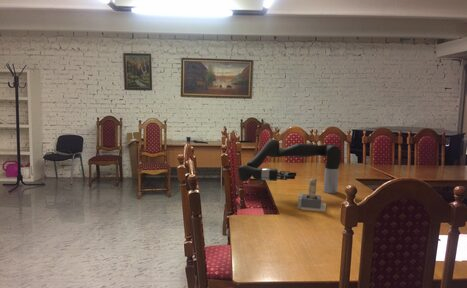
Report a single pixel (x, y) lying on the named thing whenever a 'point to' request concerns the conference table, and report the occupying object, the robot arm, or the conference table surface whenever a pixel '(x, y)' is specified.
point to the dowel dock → (311, 203)
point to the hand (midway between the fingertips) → (295, 175)
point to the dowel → (312, 188)
